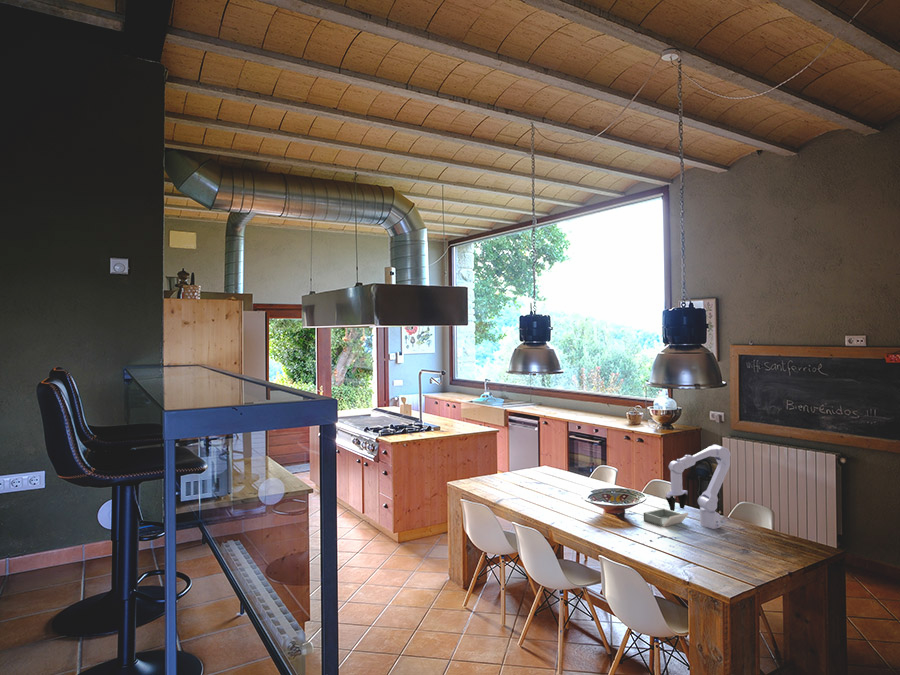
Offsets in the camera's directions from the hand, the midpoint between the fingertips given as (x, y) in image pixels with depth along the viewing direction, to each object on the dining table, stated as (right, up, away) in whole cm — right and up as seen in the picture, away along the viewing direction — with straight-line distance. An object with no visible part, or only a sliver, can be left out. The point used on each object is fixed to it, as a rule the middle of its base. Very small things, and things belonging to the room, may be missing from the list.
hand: (677, 509), depth 290 cm
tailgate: (-1, -6, 0) cm, 6 cm away
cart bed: (-5, -10, +8) cm, 14 cm away
